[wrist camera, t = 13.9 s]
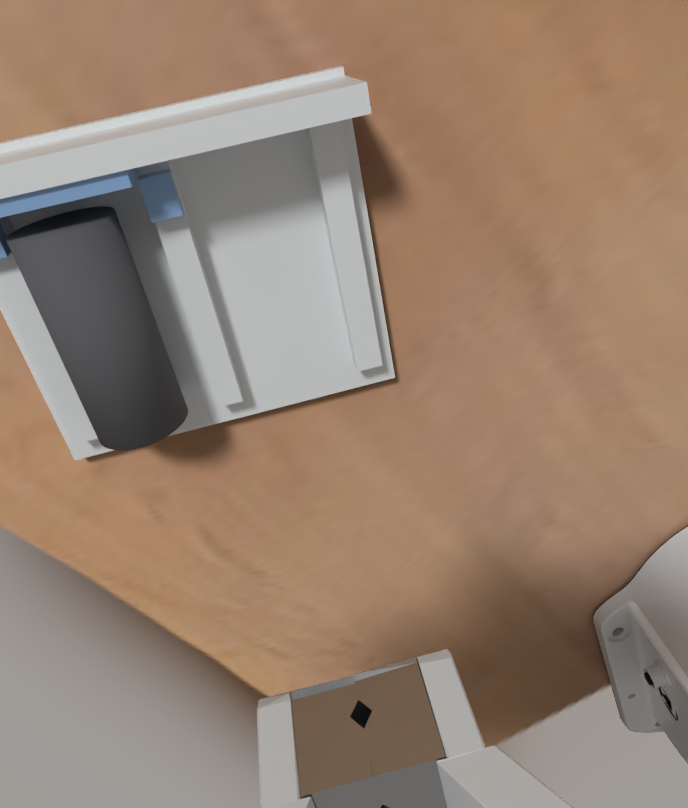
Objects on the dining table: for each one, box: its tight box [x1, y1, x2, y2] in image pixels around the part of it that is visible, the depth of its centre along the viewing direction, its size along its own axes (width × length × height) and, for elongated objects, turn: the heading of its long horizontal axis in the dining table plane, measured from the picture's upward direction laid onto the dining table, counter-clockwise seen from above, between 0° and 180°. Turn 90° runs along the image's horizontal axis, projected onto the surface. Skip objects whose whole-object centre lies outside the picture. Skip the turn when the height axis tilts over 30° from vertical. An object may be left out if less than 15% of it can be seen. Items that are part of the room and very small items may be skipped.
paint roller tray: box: [0, 66, 395, 460], centre depth 27 cm, size 14×16×5 cm
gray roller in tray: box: [6, 206, 188, 450], centre depth 27 cm, size 9×4×4 cm, turn 11°
